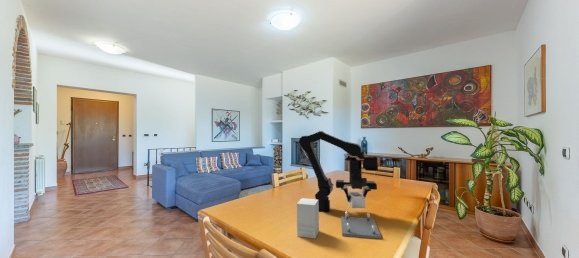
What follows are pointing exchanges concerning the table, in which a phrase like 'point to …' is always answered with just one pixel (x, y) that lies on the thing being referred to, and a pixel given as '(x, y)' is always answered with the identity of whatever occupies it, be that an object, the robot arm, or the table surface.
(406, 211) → the table surface
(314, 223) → the supplement box
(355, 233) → the pin tray
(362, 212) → the table surface
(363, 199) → the block
